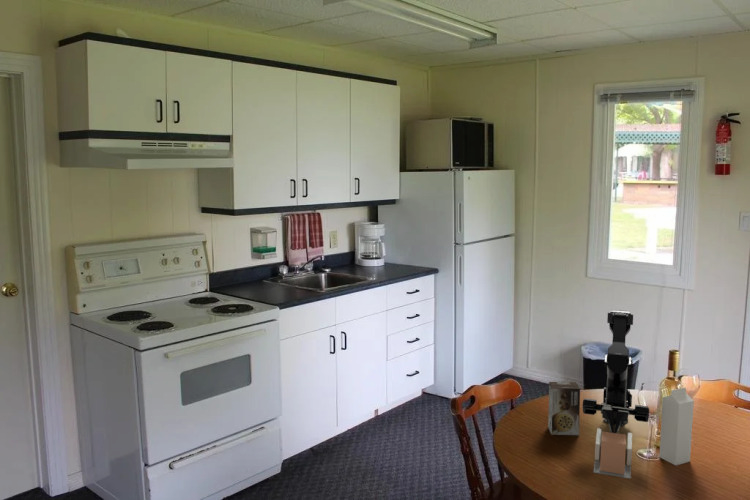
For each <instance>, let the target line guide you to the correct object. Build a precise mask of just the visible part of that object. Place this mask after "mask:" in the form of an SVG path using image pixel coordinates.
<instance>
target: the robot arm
mask: <svg viewBox="0 0 750 500" xmlns="http://www.w3.org/2000/svg"><path fill="white" fill-rule="evenodd" d="M606 321H607V323H606V324H609V325H608V326H609V330H610V332H611V334H612V343H611V345H610V346H609V347H608V348H607V354H605V356H604V357H605V358H604V367H605V368H606V370H607V371H606V374H607V378H606V383H605V387H603V396H602V397H603V398H602V399H603V401H602V402H601V404H599V403H598V399H593V398H586V397H584V399H583V400H582V414H584V415H591V416H594V415H596V414H597V411H598V412H600V414H601V418H602V422H603V423H606V424H608V426H609V429H610V433H617V434H619V430H620V427H623V426H624V425H626V423H628V422H629V416H633V417H634V420H636V421H637V422H642V423H649V419H650V418H649V417H650V408H649V407H648V405H641V404H634V408H633V407H632V405H633V394H632V393H631V390H629V384H628V382H627V381H628V371H629V370H632V368H634V365H633V364H634V360H633V359H632V357H631V356H629V353H630V350H629V348H628V347H627V346H626V338H627V337H626V336H627V335H628V334H629V332H630V331H631V328H632V326H634V314H632V313H631V312H630V310H620V309H619V310H618V309H611V311H610V312H607V317H606Z"/></svg>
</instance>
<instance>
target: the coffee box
mask: <svg viewBox="0 0 750 500" xmlns="http://www.w3.org/2000/svg"><path fill="white" fill-rule="evenodd" d="M580 405H581V388H580V386H579V384H578V383H577V381H549V382H548V419H547V421H548V424H547V427H548V430H549V432H550V435H552V436H555V435H558V436H561V435H562V436H580V409H581V407H580Z"/></svg>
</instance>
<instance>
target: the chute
mask: <svg viewBox="0 0 750 500" xmlns="http://www.w3.org/2000/svg"><path fill="white" fill-rule="evenodd" d="M596 429H597V430H596V437H595V443H594V444H595V445H594V447H595V448H594V465H593V473H594V474H600V475H606V476H610V477H611V476H612V477H619V478H623V479H624V478H625V479H629V480H631V479H632V459H633V458H632V455H633V454H632V453H633V452H632V451H633V433H632V432H627V439H626V443H627V444H626V448H625V463H626V464H625V470H624V474H618V473H612V472H606V471H600V459H601V439H602V428H598V427H597V428H596Z"/></svg>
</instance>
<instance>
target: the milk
mask: <svg viewBox="0 0 750 500" xmlns="http://www.w3.org/2000/svg"><path fill="white" fill-rule="evenodd" d="M686 391H687V388H686V387H682V388H676V389H672V390H671V391H670V395H667V396H663V397H662V403H661V405H662V406H661V420H660V421H661V422H660V439H659V456H658V457H659V458H661V459H662V460H664V461H666V462H668V463H670V464H672V465H673V466H679V465H683V464H686V463H690V462H691V453H692V452H691V451H692V434H693V430H692V429H693V420H694V418H693V416H694V402H695V401H694V399H692V397H691V396H690V395H689V394H688V393H687V392H686Z"/></svg>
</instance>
